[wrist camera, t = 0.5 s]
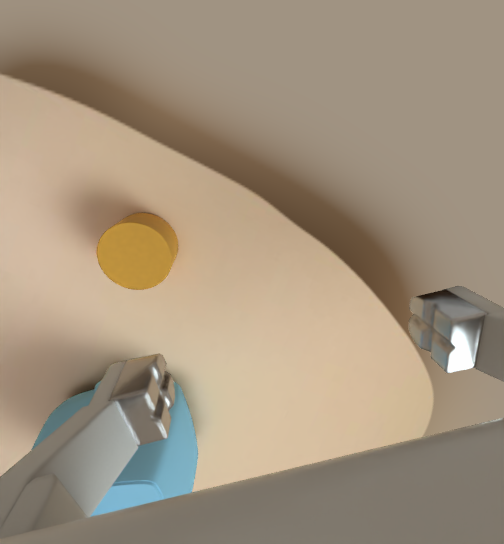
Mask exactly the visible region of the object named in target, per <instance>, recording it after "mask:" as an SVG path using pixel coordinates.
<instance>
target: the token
mask: <svg viewBox="0 0 504 544" xmlns="http://www.w3.org/2000/svg"><path fill="white" fill-rule="evenodd" d="M177 252H178V240H177V237H176V234H175V232H174V230H173V229H172V227H171V226H170V225H169V224H168V223H167V222H166V221H165V220H163V219H162V218H160V217H158V216H156V215H153V214H149V213H136V214H132V215H130V216H127V217H126V218H124V219H123V220H121V221H120V222H118V223H117V224H115V225H113V226H112V227H110V228H109V229H108V230H107V231H105V232H104V234H103V235H102V236H101V238H100V240H99V242H98V246H97V258H98V262H99V265H100V267H101V269H102V270H103V272H104V273H105V274H106V275H107V277H108V278H110V279H111V280H112V281H113V282H115V283H116V284H118V285H120V286H122V287H125V288H128V289H135V290H143V289H148V288H152V287H154V286H156V285H158V284H159V283H161V282H162V281H163V280H164V279H165V278H166V277H167V275H168V273H169V272H170V269H171V267H172V265H173V262H174V260H175V258H176V255H177Z"/></svg>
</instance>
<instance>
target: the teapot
mask: <svg viewBox="0 0 504 544" xmlns="http://www.w3.org/2000/svg"><path fill="white" fill-rule="evenodd" d="M101 381H102V380H101ZM101 381H99V382H98V383H97V384H96V386H95V389H94V390H90V391H87V392H83V393H80V394H77V395H75V396H73V397H71V398H69V399H67V400H66V401H64V402H63V403H62V404H61V405H60V406H58V407H57V408H56V409H55V410H54V411H53V412H52V413H51V414H50V416H49V417H48V419H47V421H46V422H45V424H44V426H43V428H42V429H41V431H40V433H39V435H38V437H37V439H36V441H35V443H34V446H33V448H32V450H33V449H34V448H35V447H36V446H37V445H39V444H40V443H41V442H42V441H43V440H44V439H46V438H47V437H48V436H49V435H50V434H52V433H53V432H54V431H55V430H56V429H57V428H59V427H60V426H61V425H62V424H63V423H65V422H66V421H67V420H68V419H69V418H70V417H72V416H73V415H74V414H75V413H76V412H77V411H79V410H80V409H81V408H82V407H85V406H88V405H89V403H90V401H91V400H92V398H93V396H94V394H95V392H96V390H97V388H98V386H99V384H100V383H101ZM174 387H175V400H174V405H173V407H172V408H171V409H170V410H169V413H170V416H171V423H170V428H169V434H168V438H167V439H163V440H159V441H156V442H152V443H148V444H144V445H140V446H138V449H137V451H136V452H135V453H134V455H133V456H132V458H131V459H130V460H129V462H128V463H127V465H126V466H125V468H124V469H123V470H122V472H121V473H120V475H119V476H118V478H117V479H116V480H115V482H114V483H113V485H112V486H111V488H110V489H109V490H108V492H107V493H106V495H105V496H104V497H103V499H102V500H101V502H100V503H99V505H98V506H97V507H96V509H95V510H94V512H93V513H92V515H91V516H90V517H92V516H96V515H100V514H104V513H108V512H113V511H117V510H121V509H125V508H129V507H133V506H138V505H142V504H146V503H150V502H154V501H158V500H163V499H167V498H171V497H175V496H179V495H183V494H188V493H192V489H193V484H194V479H195V473H196V467H197V459H198V448H197V440H196V434H195V429H194V425H193V421H192V418H191V414H190V411H189V408H188V405H187V402H186V399H185V397H184V394H183V392H182V389H181V387H180V386H179V384H177V383H176V382H174Z"/></svg>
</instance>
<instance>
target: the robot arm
mask: <svg viewBox="0 0 504 544" xmlns="http://www.w3.org/2000/svg"><path fill="white" fill-rule="evenodd" d="M409 308H410V310H411V311H412V312H413V313H414V314H413V315H412V317H411V318H410V319H409V331H410V334H411V337H412V339H413V340H414V342H415V343H416V344H417V345H418V346H419V347H420V348H421V349H424V350H427V351H429V352H431V358H432V359H433V360H434V361H435V362H436V363H437V364H438V365H439V366H440V367H441V368H442V369H444V371H445V372H446V373H450V372H455V371H459V370H465V369H469V368H474V367H476V369H477V370H479V371H481V372H484V373H486V374H488V375H490V376H493V377H495V378H497V379H499V380H501V381H504V308H503V307H501V306H499V305H497V304H495V303H493V302H492V301H490V300H488V299H486V298H484V297H482V296H480V295H478V294H476V293H475V292H473V291H471V290H469V289H467V288H465V287H462V286H456V287H452V288H448V289H444V290H442V291H438V292H434V293H429V294H425V295H421V296H416V297H412V299H411V301H410V307H409ZM165 367H166V361H165V359H164V357H163V355H161V354H155V355H151V356H146V357H141V358H136V359H131V360H126V361H121V362H117V363H113V364H111V365H110V366H109V367H108V369H107V371H106V373H105V375H104V377H103V379H102V381H101V383H100V384H99V386H98V388H97V390H96V392H95V394H94V396H93V398H92V400H91V401H90V403H89V405H88V406H85V407H82V408H81V409H80V410H79V411H77V412H76V413H75V414H74V415H73V416H72V417H70V418H69V419H68V420H67V421H66V422H65V423H63V424H62V425H61V426H60V427H59V428H57V429H56V430H55V431H54V432H53V433H52V434H50V435H49V436H48V437H47V438H46V439H44V440H43V441H42V442H41V443H40V444H39V445H37V446H36V447H35V448H34V449H33V450H31V451H30V452H29V453H28V454H27V455H26V456H24V457H23V458H22V459H21V460H20V461H18V462H17V463H16V464H15V465H14V466H13V467H11V468H10V469H9V470H8V471H7V472H6V473H4V474H3V475H2V476H1V477H0V544H504V418H500V419H497V420H492V421H488V422H484V423H480V424H475V425H472V426H467V427H463V428H459V429H455V430H450V431H446V432H442V433H438V434H434V435H430V436H426V437H421V438H417V439H413V440H409V441H405V442H400V443H396V444H392V445H388V446H384V447H380V448H375V449H371V450H367V451H363V452H359V453H354V454H350V455H346V456H342V457H338V458H334V459H329V460H325V461H321V462H317V463H313V464H309V465H304V466H300V467H296V468H292V469H288V470H283V471H279V472H275V473H271V474H267V475H263V476H258V477H254V478H250V479H246V480H242V481H238V482H233V483H229V484H225V485H221V486H217V487H213V488H208V489H204V490H200V491H196V492H192V493H188V494H183V495H179V496H175V497H171V498H167V499H163V500H158V501H154V502H150V503H146V504H142V505H138V506H133V507H129V508H125V509H121V510H117V511H113V512H108V513H104V514H100V515H96V516H92V517H90V516H91V515H92V513H93V512H94V510H95V509H96V507H97V506H98V505H99V503H100V502H101V500H102V499H103V497H104V496H105V495H106V493H107V492H108V490H109V489H110V488H111V486H112V485H113V483H114V482H115V480H116V479H117V478H118V476H119V475H120V473H121V472H122V470H123V469H124V468H125V466H126V465H127V463H128V462H129V460H130V459H131V458H132V456H133V455H134V453H135V452H136V451H137V449H138V446H140V445H144V444H148V443H152V442H156V441H159V440H163V439H167V438H168V434H169V428H170V423H171V416H170V413H169V410H170V409H171V408H172V407H173V405H174V400H175V387H174V382H173V379H172V376H171V374H169V373H168V372H166V371H165Z"/></svg>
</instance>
